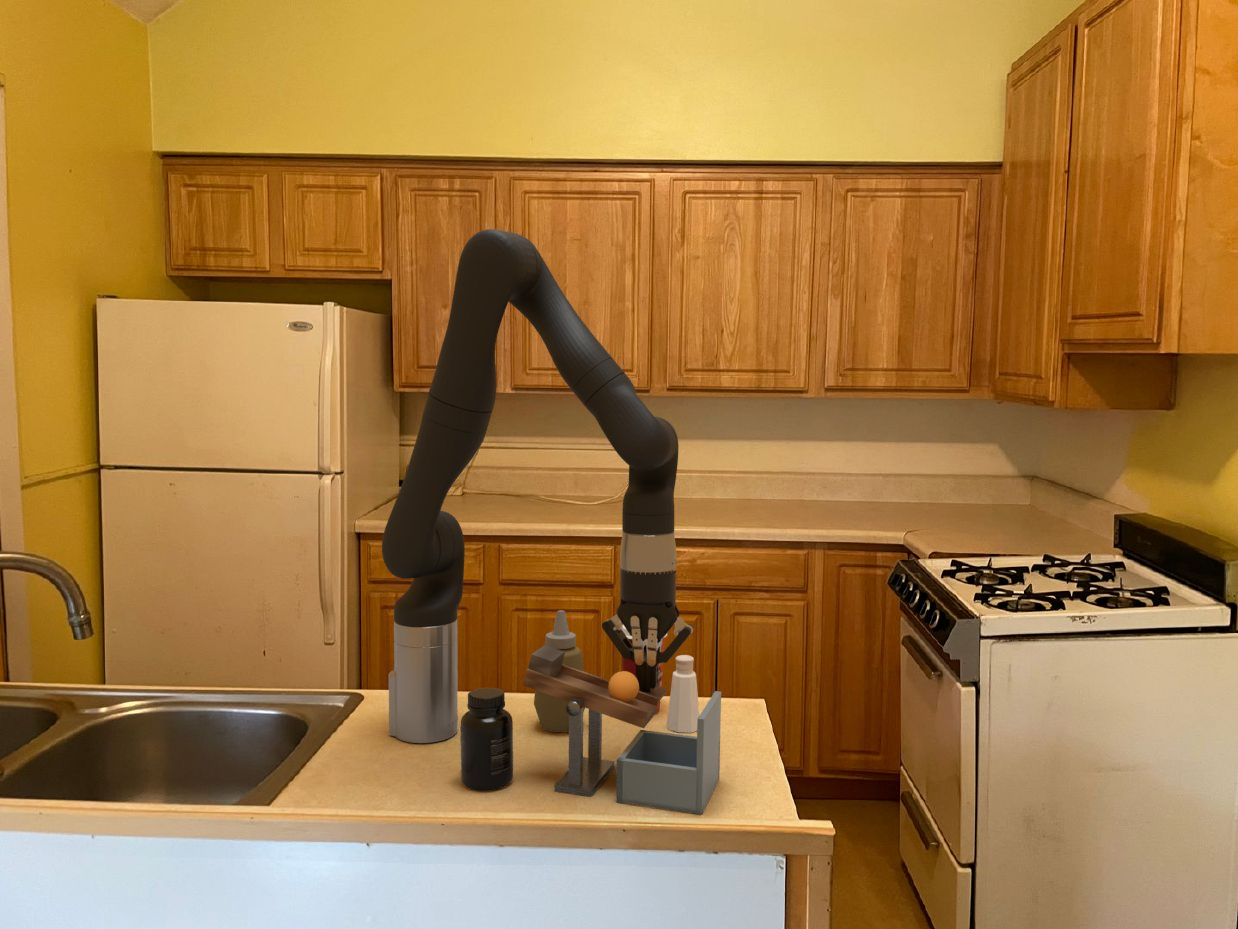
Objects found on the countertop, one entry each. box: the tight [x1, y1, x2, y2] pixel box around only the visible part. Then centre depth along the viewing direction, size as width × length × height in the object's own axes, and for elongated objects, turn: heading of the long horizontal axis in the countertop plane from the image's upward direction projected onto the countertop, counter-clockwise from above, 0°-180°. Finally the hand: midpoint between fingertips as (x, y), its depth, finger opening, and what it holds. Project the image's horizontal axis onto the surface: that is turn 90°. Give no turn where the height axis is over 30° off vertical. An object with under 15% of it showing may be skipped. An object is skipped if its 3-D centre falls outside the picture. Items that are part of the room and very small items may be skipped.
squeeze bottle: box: [533, 609, 586, 733], centre depth 144 cm, size 8×8×18 cm
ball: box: [608, 670, 639, 702], centre depth 123 cm, size 4×4×4 cm
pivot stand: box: [553, 698, 615, 798], centre depth 125 cm, size 5×10×12 cm, turn 163°
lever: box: [522, 644, 667, 730], centre depth 128 cm, size 17×13×4 cm
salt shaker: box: [666, 654, 700, 734], centre depth 145 cm, size 5×5×11 cm
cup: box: [615, 690, 722, 816], centre depth 122 cm, size 11×11×12 cm
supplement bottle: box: [459, 687, 514, 792], centre depth 124 cm, size 7×7×12 cm
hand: (647, 690), depth 129 cm, fingers closed
